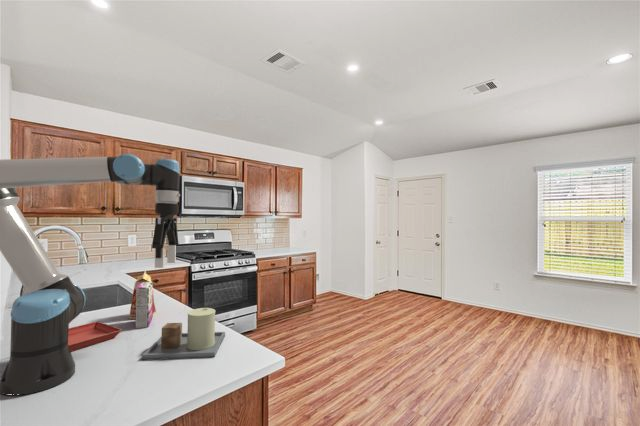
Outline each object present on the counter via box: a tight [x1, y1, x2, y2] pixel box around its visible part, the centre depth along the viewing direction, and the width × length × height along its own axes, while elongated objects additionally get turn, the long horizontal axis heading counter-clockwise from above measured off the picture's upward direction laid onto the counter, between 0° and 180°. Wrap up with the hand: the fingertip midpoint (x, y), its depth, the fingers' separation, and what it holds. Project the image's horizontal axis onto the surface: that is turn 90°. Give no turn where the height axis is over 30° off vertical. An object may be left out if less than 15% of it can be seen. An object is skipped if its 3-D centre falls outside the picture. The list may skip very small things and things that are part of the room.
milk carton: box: [128, 270, 157, 320], centre depth 138 cm, size 9×9×20 cm
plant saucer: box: [68, 321, 123, 352], centre depth 110 cm, size 18×18×3 cm
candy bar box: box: [134, 281, 154, 329], centre depth 128 cm, size 11×5×16 cm, turn 22°
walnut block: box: [160, 322, 183, 349], centre depth 105 cm, size 5×5×7 cm
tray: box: [141, 331, 226, 361], centre depth 106 cm, size 18×22×2 cm
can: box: [187, 307, 216, 350], centre depth 106 cm, size 9×9×12 cm
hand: (165, 265), depth 108 cm, fingers open, 10 cm apart
